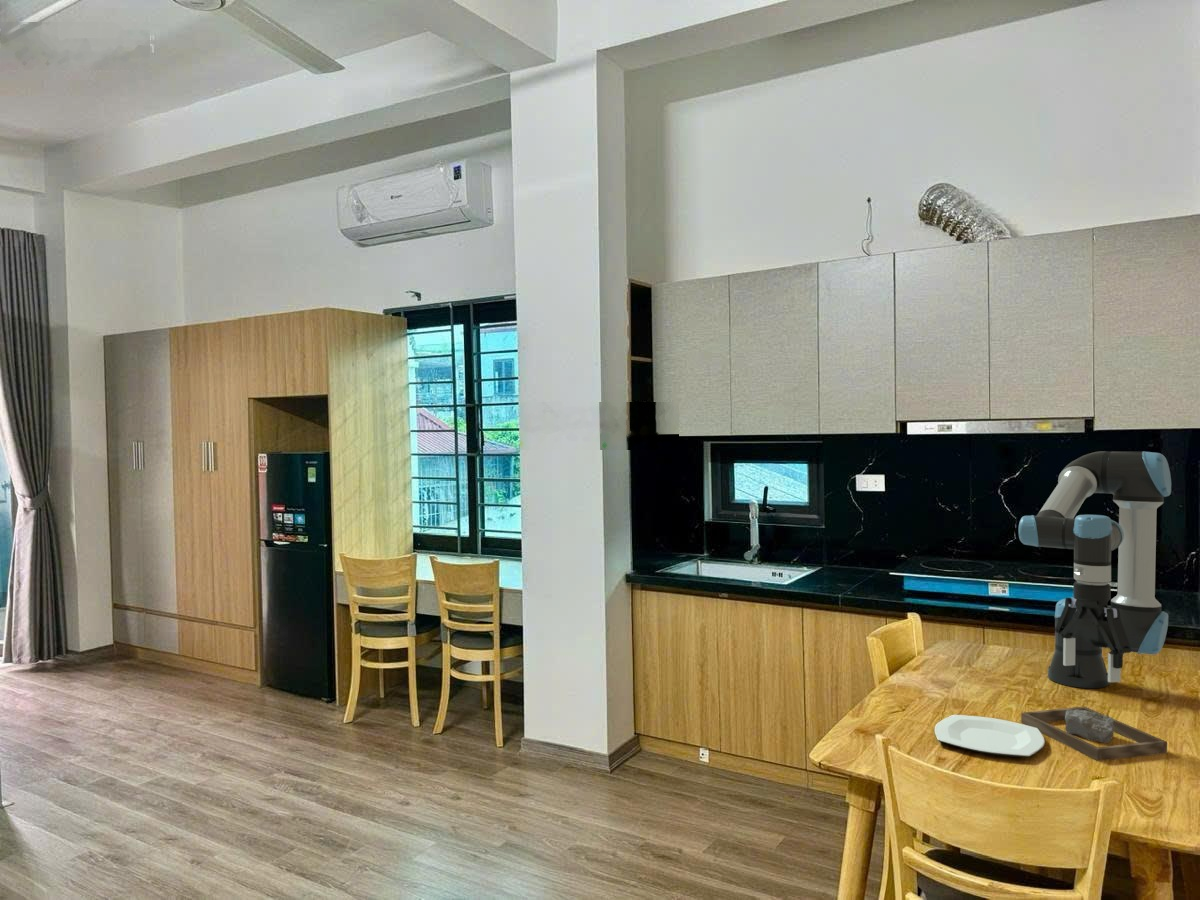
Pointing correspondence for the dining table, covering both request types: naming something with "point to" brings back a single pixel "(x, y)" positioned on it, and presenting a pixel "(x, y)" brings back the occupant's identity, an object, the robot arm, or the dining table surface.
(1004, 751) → the plate
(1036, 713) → the empty rectangular frame
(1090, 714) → the stone
